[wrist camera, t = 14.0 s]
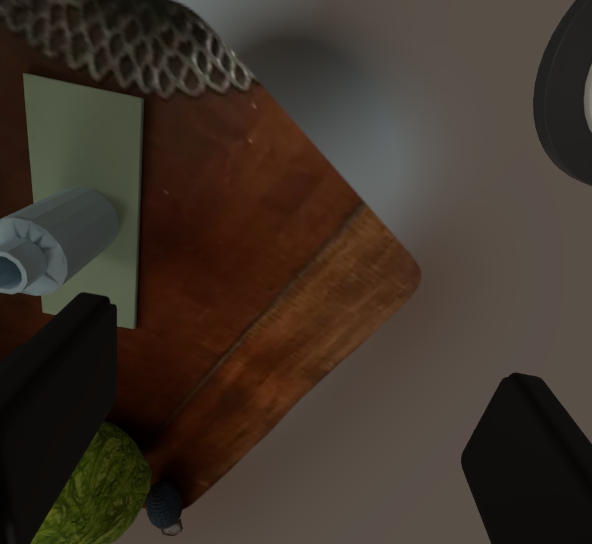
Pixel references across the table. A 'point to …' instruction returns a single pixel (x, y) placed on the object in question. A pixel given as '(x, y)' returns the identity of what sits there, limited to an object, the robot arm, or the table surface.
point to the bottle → (54, 240)
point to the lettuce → (99, 493)
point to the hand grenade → (165, 508)
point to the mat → (90, 177)
